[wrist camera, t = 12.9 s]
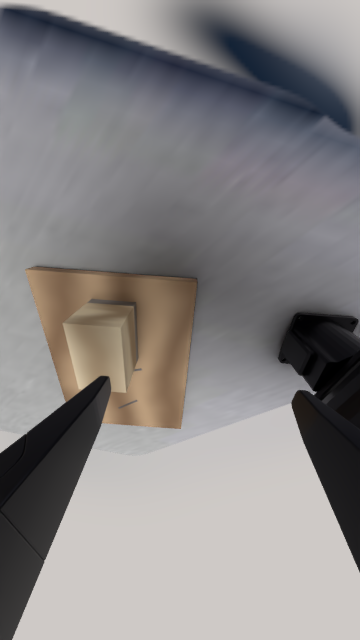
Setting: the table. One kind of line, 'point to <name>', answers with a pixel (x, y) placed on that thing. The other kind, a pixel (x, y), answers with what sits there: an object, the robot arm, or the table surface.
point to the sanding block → (103, 342)
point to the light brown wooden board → (152, 330)
